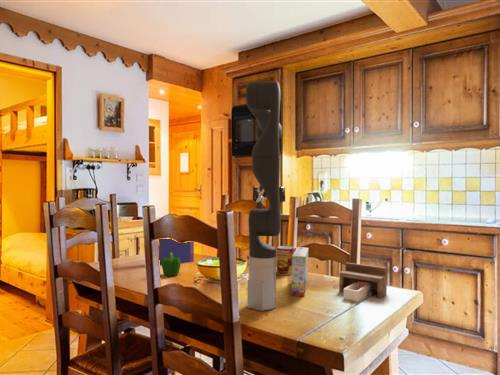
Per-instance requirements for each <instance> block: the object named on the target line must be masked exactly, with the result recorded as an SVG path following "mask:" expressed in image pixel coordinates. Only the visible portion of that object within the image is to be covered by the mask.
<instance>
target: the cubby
mask: <svg viewBox="0 0 500 375" xmlns="http://www.w3.org/2000/svg"><path fill="white" fill-rule="evenodd" d="M344 265H345V268H344V270H341V271H339V281H338V282H339V283H338V284H339V286H338V287H339V289H338V290H339V292H344V288H346V287H347V286H349V285H351V284H353V283H355V282H356V281H363V282H369V283H372V291H371V292H369V295H368V297H373V296H374V295H375V294H377V299H382V298H383V297H385V296H386V295H387V283H388V282H387V280H388V277H387V274H388V273H387V272H388V271H387V270H388V269H387V268H388V267H384V266H383V267H381V266H377V265H376V266H375V265H369V264H368V265H367V264H361V263H355V262H345V264H344ZM384 295H385V296H384Z"/></svg>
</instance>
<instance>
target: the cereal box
mask: <svg viewBox="0 0 500 375" xmlns="http://www.w3.org/2000/svg"><path fill="white" fill-rule="evenodd" d="M159 218H160V217H158V219H159ZM194 243H195V241H194V242H187V243H178V242H176V241H174V240H172V239H159V238H158V261H159V260H160V264H159V265H160V266H162V259H164V258H166V257H170V253H172V257H178V258H180V260H181V261H180V264H184V263H194V261H195V259H194V258H195V257H194V256H195V255H194V254H195V248H194V247H195V244H194Z"/></svg>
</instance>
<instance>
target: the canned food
mask: <svg viewBox="0 0 500 375" xmlns="http://www.w3.org/2000/svg"><path fill="white" fill-rule="evenodd" d="M294 252H295V247H294V246H290V245H279V246H277V247H276V274H278V275H282V276H283V275H284V276H288V275H291V276H292V256H293V254H294Z"/></svg>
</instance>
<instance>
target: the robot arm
mask: <svg viewBox="0 0 500 375" xmlns="http://www.w3.org/2000/svg"><path fill="white" fill-rule="evenodd" d="M280 86H281V85H280V83H279V82H278V81H276V80H267V81H265V80H264V81H263V80H262V81H258V80H257V81H251V82H249V83H247V85H246V87H245V102H246V103H245V104H246V106H247V108H248V110H249V112H251V114H252V115H253V117H254V118H255V119H256V121H257V126H256V128H255V133H256V135H255V136H256V137H257V138H256V139H257V140H256V142H255V144H254V145H253V148H252V151H251V170H252V171H251V172H252V173H253V175H254V178H255V179H256V180H257V182H258V184H259V186H253V187H252V201H253V202H255V203H256V208H252V209H250V211H249V213H248V220H247V222H248V240H249V242H248V243H249V244H248V245H249V246H248V248H249V249H248V251H249V252H248V253H249V254H248V256H249V257H248V258H249V261H248V262H249V267H248V279H247V308H249V309H251V310H252V309H253V310H257V311H260V312H264V311H269V310H270V311H271V310H273V309H275V308H276V307H277V247H275V246H274V245H273V246H272V245H271V244H268V243H266V242H264V241H263V240H261V238H260V237H277V236H279V235H280V233H281V227H282V220H281V218H282V216H281V210H282V206H281V205H282V203H285V202H286V188H285V186H280V171H281V169H280V168H281V167H280V166H281V165H280V164H281V163H280V162H281V158H280V154H281V153H280V139H281V137H282V136H283V128H282V124H281V123H280V112H281V87H280ZM265 198H267V199H268V202H269V205H270V208H263V201H264V199H265Z"/></svg>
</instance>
